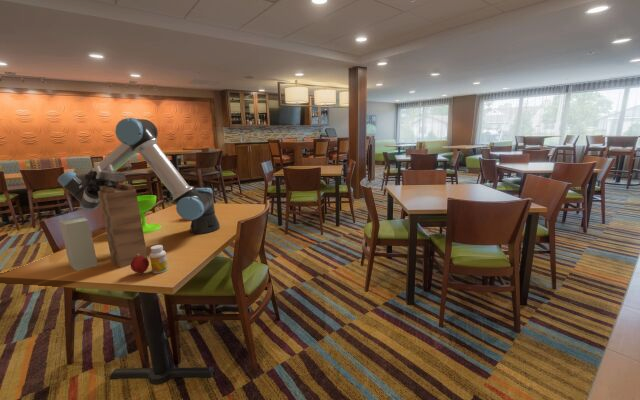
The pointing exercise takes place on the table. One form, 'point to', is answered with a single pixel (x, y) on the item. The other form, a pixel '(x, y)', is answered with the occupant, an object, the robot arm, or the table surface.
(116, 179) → the bar
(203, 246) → the table surface
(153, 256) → the supplement bottle
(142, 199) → the wineglass
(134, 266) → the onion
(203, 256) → the table surface
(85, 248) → the rest block
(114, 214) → the stand
